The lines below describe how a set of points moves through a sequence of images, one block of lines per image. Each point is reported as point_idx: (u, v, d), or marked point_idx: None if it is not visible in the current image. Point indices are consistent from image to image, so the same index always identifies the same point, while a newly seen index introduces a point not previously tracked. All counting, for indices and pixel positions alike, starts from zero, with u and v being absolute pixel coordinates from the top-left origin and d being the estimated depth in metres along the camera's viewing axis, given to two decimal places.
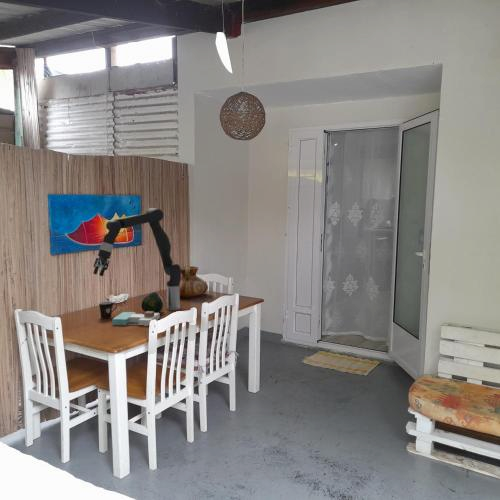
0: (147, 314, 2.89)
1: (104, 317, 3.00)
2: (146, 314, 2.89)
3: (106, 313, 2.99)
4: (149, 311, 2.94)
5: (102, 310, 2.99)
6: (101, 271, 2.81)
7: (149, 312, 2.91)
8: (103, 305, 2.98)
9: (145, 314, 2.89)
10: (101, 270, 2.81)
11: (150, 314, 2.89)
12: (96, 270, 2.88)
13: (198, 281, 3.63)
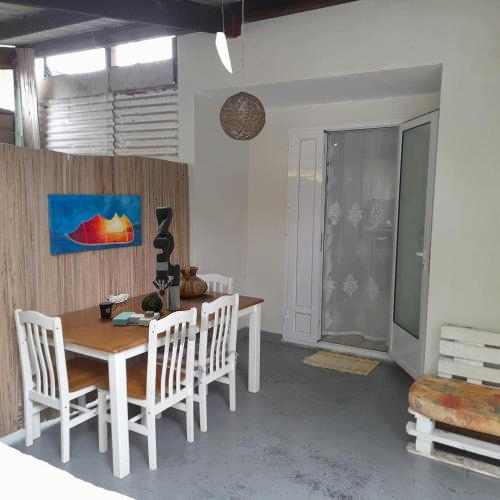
0: (147, 314, 2.89)
1: (104, 317, 3.00)
2: (146, 314, 2.89)
3: (106, 313, 2.99)
4: (149, 311, 2.94)
5: (102, 310, 2.99)
6: (163, 291, 2.88)
7: (149, 312, 2.91)
8: (103, 305, 2.98)
9: (145, 314, 2.89)
10: (162, 291, 2.88)
11: (150, 314, 2.89)
12: None
13: (198, 281, 3.63)
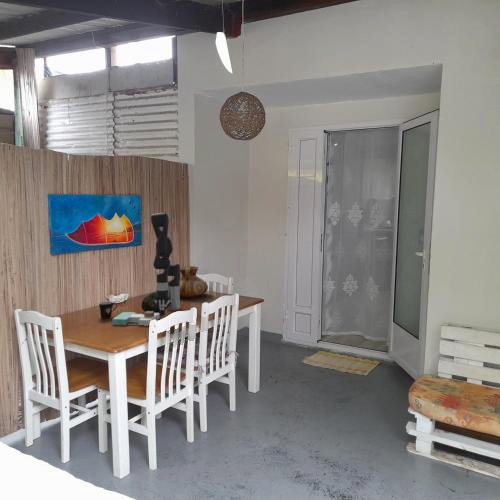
0: (147, 314, 2.89)
1: (104, 317, 3.00)
2: (146, 314, 2.89)
3: (106, 313, 2.99)
4: (149, 311, 2.94)
5: (102, 310, 2.99)
6: (163, 311, 2.90)
7: (149, 312, 2.91)
8: (103, 305, 2.98)
9: (145, 314, 2.89)
10: (163, 310, 2.89)
11: (150, 314, 2.89)
12: None
13: (198, 281, 3.63)
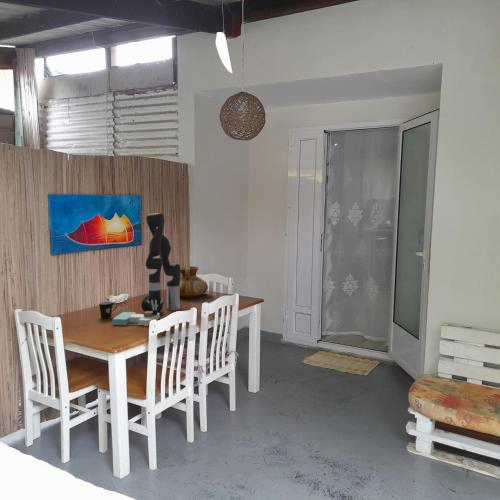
0: (147, 314, 2.89)
1: (104, 317, 3.00)
2: (146, 314, 2.89)
3: (106, 313, 2.99)
4: (148, 311, 2.94)
5: (102, 310, 2.99)
6: (155, 311, 2.90)
7: (149, 312, 2.91)
8: (103, 305, 2.98)
9: (145, 314, 2.89)
10: (155, 310, 2.90)
11: (150, 314, 2.89)
12: None
13: (198, 281, 3.63)
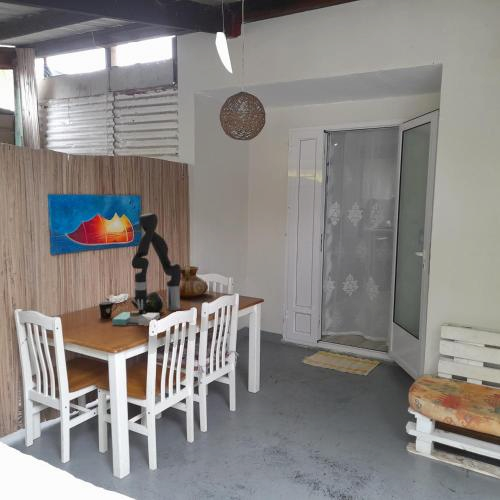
0: (133, 313, 2.90)
1: (104, 317, 3.00)
2: (132, 314, 2.90)
3: (106, 313, 2.99)
4: (135, 311, 2.94)
5: (102, 310, 2.99)
6: (142, 311, 2.91)
7: (135, 312, 2.92)
8: (103, 305, 2.98)
9: (131, 314, 2.90)
10: (141, 310, 2.91)
11: (136, 314, 2.90)
12: None
13: (198, 281, 3.63)
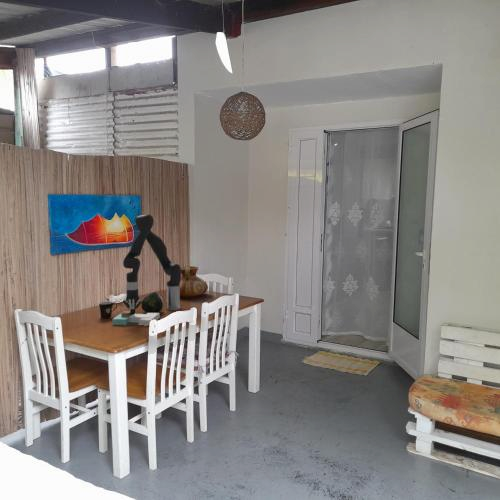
0: (125, 314, 2.90)
1: (104, 317, 3.00)
2: (123, 314, 2.90)
3: (106, 313, 2.99)
4: (126, 311, 2.94)
5: (102, 310, 2.99)
6: (133, 310, 2.92)
7: (126, 312, 2.92)
8: (103, 305, 2.98)
9: (122, 314, 2.90)
10: (133, 310, 2.91)
11: (127, 314, 2.90)
12: None
13: (198, 281, 3.63)
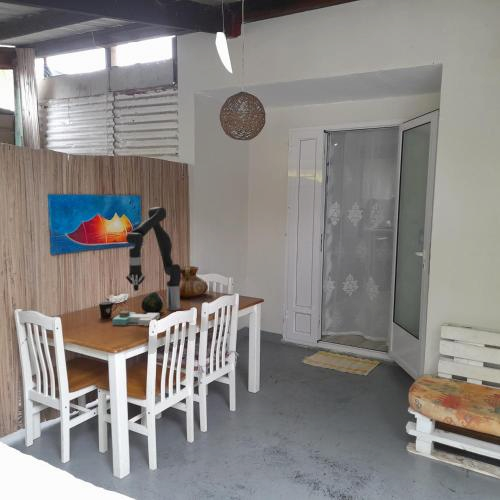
0: (123, 313, 2.90)
1: (104, 317, 3.00)
2: (121, 314, 2.90)
3: (106, 313, 2.99)
4: (124, 311, 2.95)
5: (102, 310, 2.99)
6: (136, 286, 2.90)
7: (124, 312, 2.92)
8: (103, 305, 2.98)
9: (120, 314, 2.91)
10: (136, 285, 2.89)
11: (125, 314, 2.90)
12: None
13: (198, 281, 3.63)
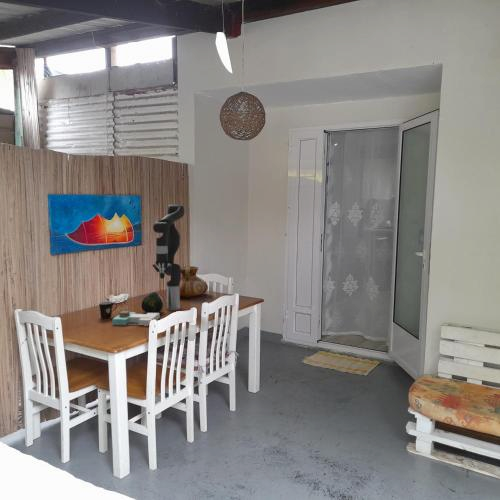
0: (123, 313, 2.90)
1: (104, 317, 3.00)
2: (121, 314, 2.90)
3: (106, 313, 2.99)
4: (124, 311, 2.95)
5: (102, 310, 2.99)
6: (163, 274, 2.97)
7: (124, 312, 2.92)
8: (103, 305, 2.98)
9: (120, 314, 2.91)
10: (162, 273, 2.97)
11: (125, 314, 2.90)
12: None
13: (198, 281, 3.63)
